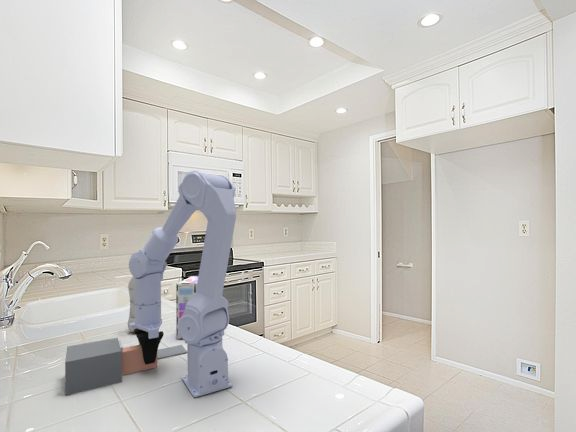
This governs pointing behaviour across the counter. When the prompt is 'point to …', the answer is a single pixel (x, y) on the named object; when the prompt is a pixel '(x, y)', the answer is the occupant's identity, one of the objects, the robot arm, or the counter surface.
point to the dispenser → (93, 365)
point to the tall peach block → (134, 360)
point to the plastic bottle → (131, 303)
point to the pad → (170, 351)
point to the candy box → (184, 298)
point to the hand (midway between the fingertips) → (148, 360)
